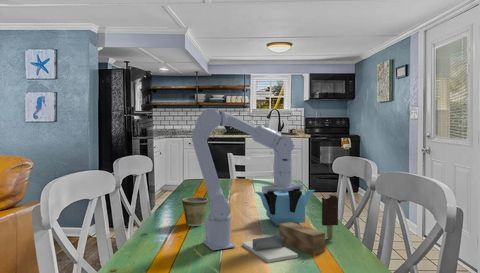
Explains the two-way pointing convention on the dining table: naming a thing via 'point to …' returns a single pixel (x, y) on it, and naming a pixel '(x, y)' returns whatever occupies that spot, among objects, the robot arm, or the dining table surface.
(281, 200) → the teakettle
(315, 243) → the walnut beam
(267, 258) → the fulcrum board
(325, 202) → the ice cream bar
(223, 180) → the dining table surface
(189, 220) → the plant pot
